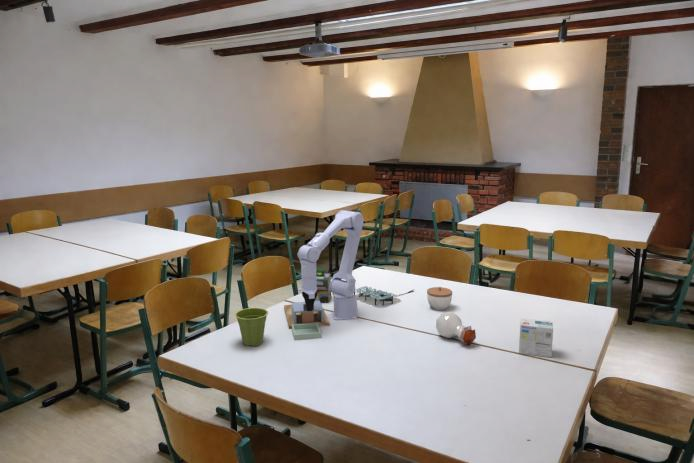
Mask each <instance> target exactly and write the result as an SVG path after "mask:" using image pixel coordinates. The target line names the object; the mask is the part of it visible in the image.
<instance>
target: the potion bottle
mask: <svg viewBox="0 0 694 463" xmlns="http://www.w3.org/2000/svg"><path fill="white" fill-rule="evenodd" d="M435 320H436V322H435V329H436V331H437V332H438V334H439V335H440V336H442V337H443V338H446V339H453V338H455V337H458V340H459V341H460V342H461V343H462V344H464V345H465V344H466V345H467V346H471V344H473V342H474V341H475V340H476V338H477V337H476V336H477V335H476V329H472V325H469V326H465V325H464V324H463V321H462V319H461V318H460V316H459V315H458V314H456V313H454V312H453V311H452V312H451V311H450V312H449V311H445V312H443V313H441V314H440V315H439V316H438V318H436V319H435Z"/></svg>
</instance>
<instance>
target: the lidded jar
mask: <svg viewBox="0 0 694 463" xmlns="http://www.w3.org/2000/svg"><path fill="white" fill-rule="evenodd" d="M426 293H427V294H426V298H427V302H428V304H429V306H430V307H431V309H432V310H435V311H445V310H447V308H448V307H449V306H450V304H451V303H452V298H453V290H451V289H450V288H447V287H441V286H434V287H429V288H427V289H426Z"/></svg>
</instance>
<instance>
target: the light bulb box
mask: <svg viewBox="0 0 694 463" xmlns="http://www.w3.org/2000/svg"><path fill="white" fill-rule="evenodd" d="M553 336H554V324H553V321H550V320H548V321H547V320H537V319H528V318H522V317H521V319H520V326H519V338H518V339H519V342H518V343H519V345H518V353H519V354H524V355H529V356H530V355H531V356H537V357H546V358H551V357H552V354H553V352H552V351H553Z"/></svg>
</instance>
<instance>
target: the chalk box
mask: <svg viewBox="0 0 694 463" xmlns="http://www.w3.org/2000/svg"><path fill="white" fill-rule="evenodd" d="M319 272H320V273H319ZM331 276H332V275H331V273H329V272H328V273H327V272H325V269H318V268H316V277H317V291H316V292H317V297H316V299H315V301H320V303H321V304H329V303H330V301H331V298H332V292H331V291H330V288H329V286H330V282H331V281H332V277H331Z"/></svg>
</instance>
